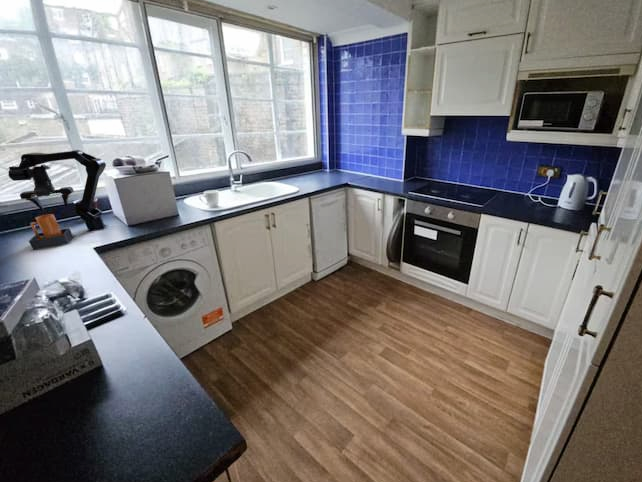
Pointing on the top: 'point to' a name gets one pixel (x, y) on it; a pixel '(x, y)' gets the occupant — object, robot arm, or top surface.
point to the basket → (51, 240)
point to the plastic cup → (94, 202)
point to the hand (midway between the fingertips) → (55, 208)
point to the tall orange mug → (47, 226)
